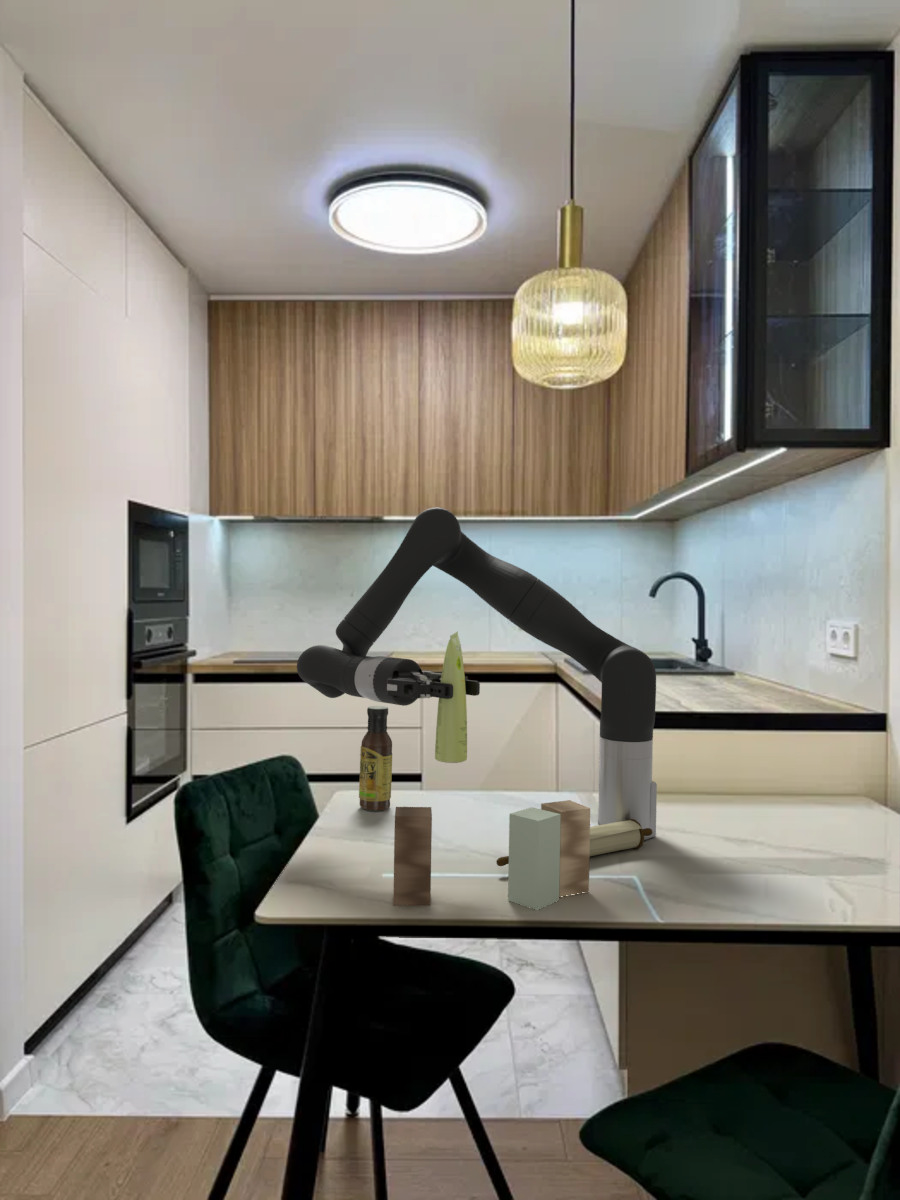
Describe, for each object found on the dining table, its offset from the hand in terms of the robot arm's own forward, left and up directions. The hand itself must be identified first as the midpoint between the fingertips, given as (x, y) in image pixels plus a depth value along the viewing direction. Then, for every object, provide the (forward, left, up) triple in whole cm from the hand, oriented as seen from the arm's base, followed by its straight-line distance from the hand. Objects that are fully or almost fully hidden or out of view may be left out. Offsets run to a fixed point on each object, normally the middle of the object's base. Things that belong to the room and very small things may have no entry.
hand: (464, 690), depth 123 cm
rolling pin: (-20, -2, -28) cm, 35 cm away
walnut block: (+10, +8, -28) cm, 30 cm away
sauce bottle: (+5, -40, -28) cm, 49 cm away
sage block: (-6, +13, -28) cm, 31 cm away
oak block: (-12, +10, -28) cm, 32 cm away
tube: (+1, -2, -11) cm, 11 cm away
